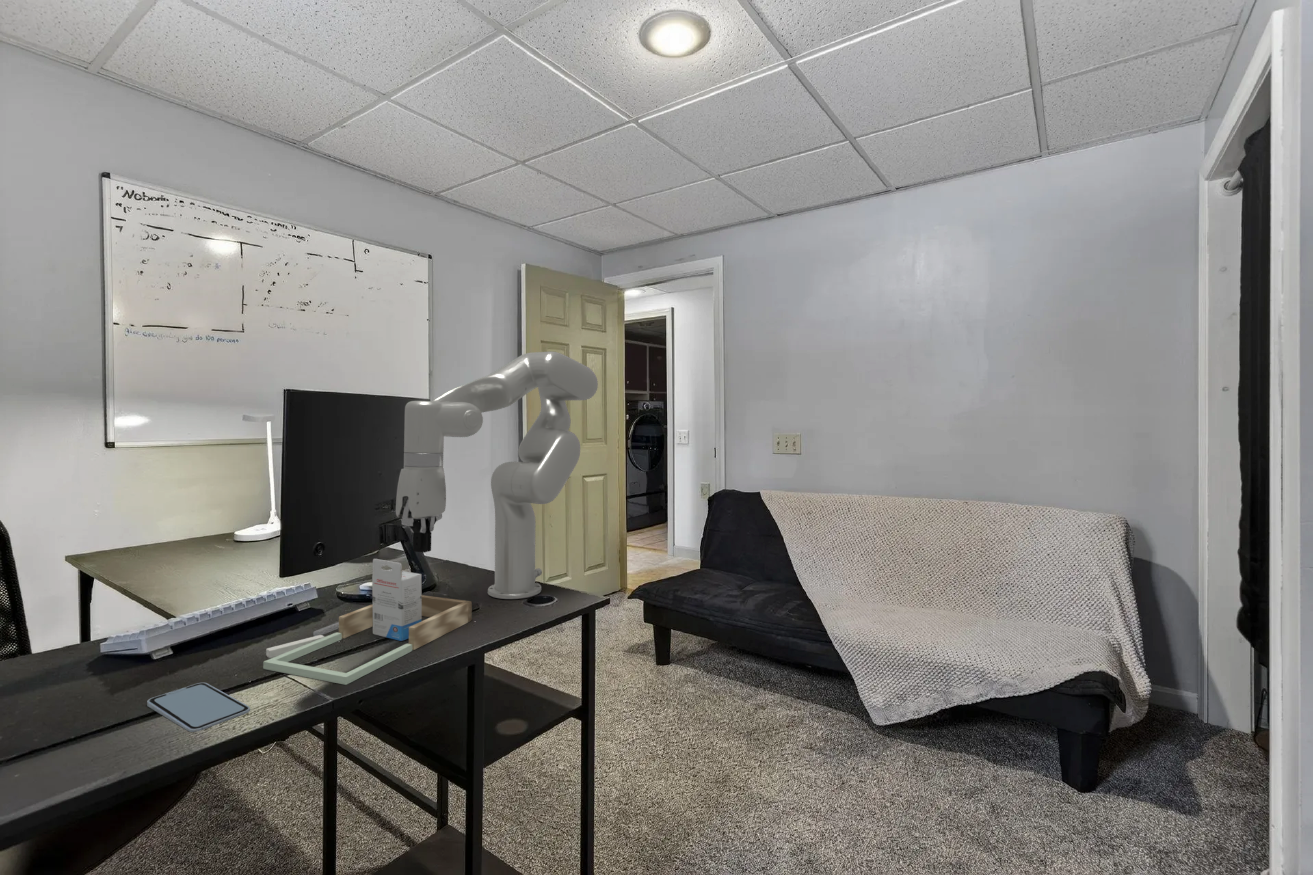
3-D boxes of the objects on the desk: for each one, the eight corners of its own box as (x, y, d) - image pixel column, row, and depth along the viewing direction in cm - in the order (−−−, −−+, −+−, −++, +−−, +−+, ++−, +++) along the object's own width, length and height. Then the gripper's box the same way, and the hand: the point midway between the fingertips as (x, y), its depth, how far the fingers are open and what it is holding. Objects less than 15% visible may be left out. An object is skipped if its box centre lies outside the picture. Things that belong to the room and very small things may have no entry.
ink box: (423, 633, 116) (423, 558, 115) (401, 642, 111) (401, 563, 111) (393, 626, 120) (393, 553, 119) (371, 634, 115) (371, 558, 115)
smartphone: (191, 731, 78) (144, 700, 86) (191, 738, 78) (144, 706, 86) (253, 708, 85) (203, 681, 92) (253, 714, 85) (203, 687, 92)
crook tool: (362, 617, 125) (362, 612, 125) (381, 620, 123) (381, 615, 123) (313, 636, 114) (313, 631, 114) (333, 640, 112) (333, 634, 112)
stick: (321, 643, 111) (321, 634, 111) (324, 645, 110) (324, 636, 110) (266, 657, 104) (266, 648, 104) (269, 660, 103) (269, 650, 103)
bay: (336, 638, 113) (336, 632, 113) (412, 650, 107) (412, 644, 107) (263, 668, 99) (263, 661, 99) (346, 684, 93) (346, 677, 93)
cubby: (403, 611, 129) (403, 592, 129) (471, 620, 124) (471, 601, 124) (338, 637, 113) (338, 616, 113) (414, 649, 108) (414, 627, 107)
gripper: (433, 459, 130) (431, 543, 130) (381, 462, 116) (379, 556, 116) (462, 460, 128) (460, 546, 128) (413, 463, 113) (411, 560, 114)
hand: (422, 551), depth 122 cm, fingers closed
